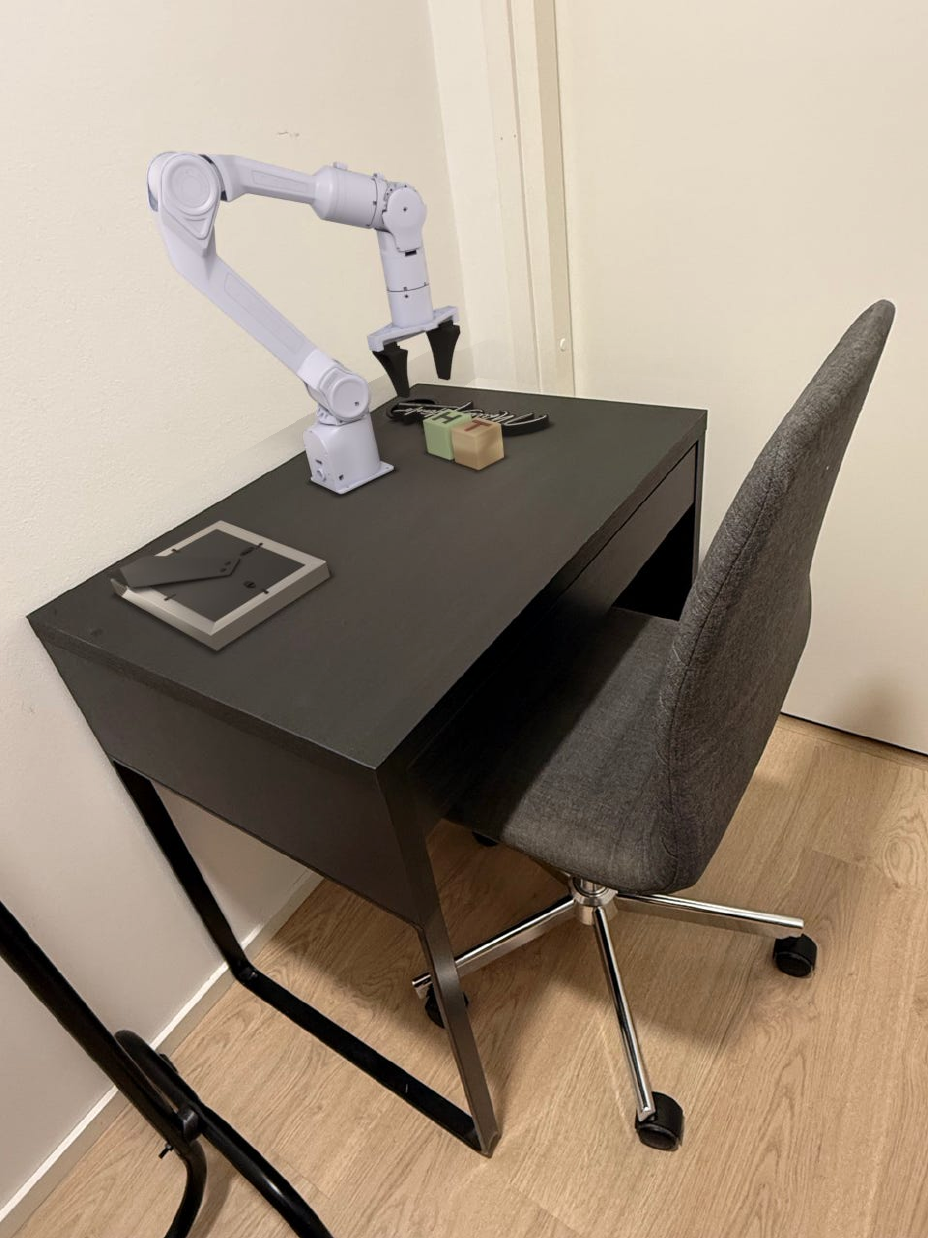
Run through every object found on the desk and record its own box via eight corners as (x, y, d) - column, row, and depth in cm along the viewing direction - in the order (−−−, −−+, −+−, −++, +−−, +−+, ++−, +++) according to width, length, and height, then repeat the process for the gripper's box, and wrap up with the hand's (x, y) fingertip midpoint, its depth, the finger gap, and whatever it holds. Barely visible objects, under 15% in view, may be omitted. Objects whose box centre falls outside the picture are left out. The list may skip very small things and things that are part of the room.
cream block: (478, 470, 103) (474, 435, 100) (454, 462, 107) (450, 428, 104) (504, 457, 106) (500, 422, 103) (480, 449, 109) (476, 415, 106)
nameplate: (558, 405, 115) (534, 431, 108) (559, 414, 116) (534, 441, 109) (406, 397, 127) (375, 420, 120) (407, 405, 127) (377, 429, 121)
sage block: (450, 460, 107) (445, 426, 104) (428, 452, 110) (422, 419, 107) (475, 447, 110) (471, 414, 107) (452, 440, 113) (448, 408, 110)
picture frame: (117, 594, 89) (216, 651, 77) (107, 574, 87) (208, 629, 75) (225, 534, 98) (330, 576, 86) (218, 515, 96) (324, 555, 84)
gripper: (382, 303, 92) (402, 409, 100) (468, 274, 99) (480, 375, 107) (350, 298, 97) (371, 400, 105) (434, 270, 104) (448, 368, 112)
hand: (424, 387), depth 106 cm, fingers open, 7 cm apart
